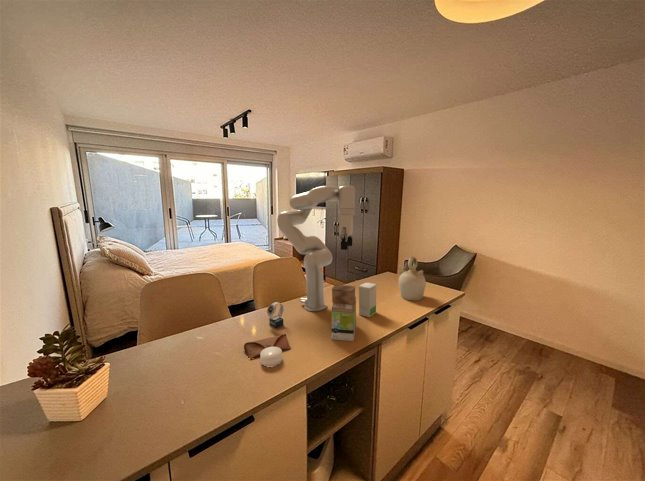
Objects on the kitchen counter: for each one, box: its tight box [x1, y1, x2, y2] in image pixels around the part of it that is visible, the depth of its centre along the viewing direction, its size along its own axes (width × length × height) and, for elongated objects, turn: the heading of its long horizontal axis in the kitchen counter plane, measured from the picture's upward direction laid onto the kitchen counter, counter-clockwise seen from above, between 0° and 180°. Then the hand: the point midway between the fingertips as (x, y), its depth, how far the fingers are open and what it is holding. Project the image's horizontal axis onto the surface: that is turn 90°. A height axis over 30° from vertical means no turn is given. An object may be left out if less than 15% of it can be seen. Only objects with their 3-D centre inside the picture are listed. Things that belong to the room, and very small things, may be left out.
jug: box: [398, 256, 427, 302], centre depth 156 cm, size 15×16×25 cm
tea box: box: [331, 296, 357, 342], centre depth 117 cm, size 15×10×15 cm
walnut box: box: [331, 284, 356, 305], centre depth 116 cm, size 9×6×6 cm
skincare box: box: [358, 282, 377, 318], centre depth 135 cm, size 8×7×16 cm
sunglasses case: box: [243, 333, 292, 360], centre depth 106 cm, size 18×7×7 cm
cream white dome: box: [259, 347, 283, 368], centre depth 98 cm, size 8×8×4 cm
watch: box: [266, 301, 285, 329], centre depth 125 cm, size 6×8×11 cm
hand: (346, 247), depth 126 cm, fingers open, 9 cm apart
